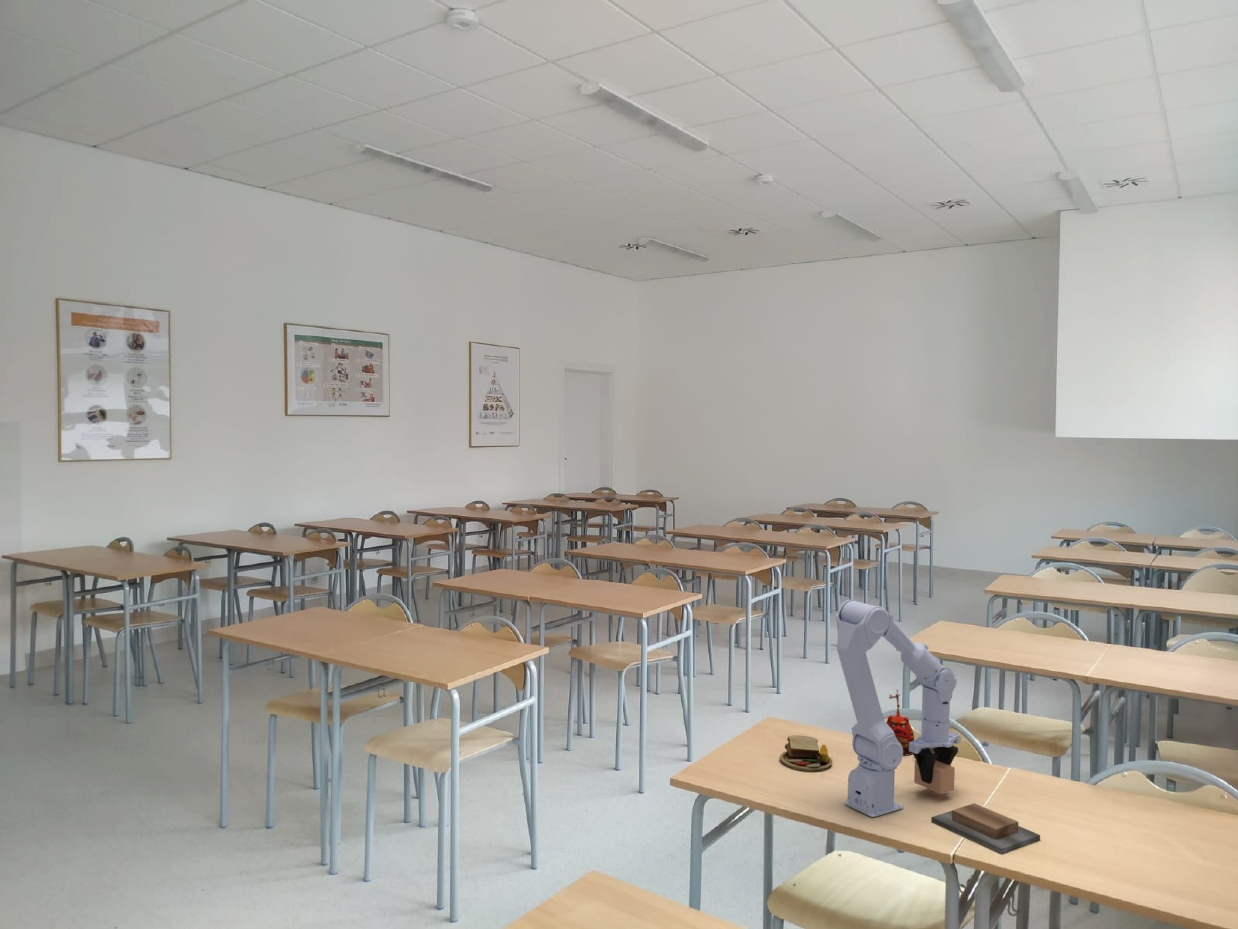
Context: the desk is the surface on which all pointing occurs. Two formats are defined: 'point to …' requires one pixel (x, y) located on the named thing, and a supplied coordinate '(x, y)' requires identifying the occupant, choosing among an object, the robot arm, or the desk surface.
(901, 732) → the red clay folk toy
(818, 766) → the toy sandwich meal
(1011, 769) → the desk surface
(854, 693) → the robot arm
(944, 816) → the tower base
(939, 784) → the terracotta brick
